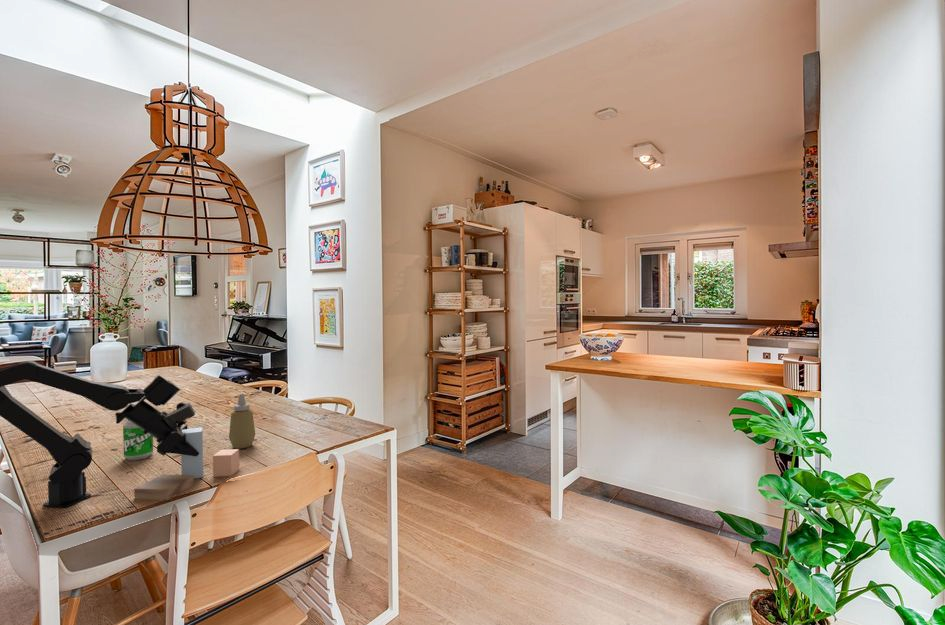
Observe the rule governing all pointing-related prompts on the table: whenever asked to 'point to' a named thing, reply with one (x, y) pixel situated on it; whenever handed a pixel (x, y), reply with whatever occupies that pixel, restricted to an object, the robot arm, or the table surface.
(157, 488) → the walnut slab
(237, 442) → the squeeze bottle
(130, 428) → the soda can
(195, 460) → the blue pillar
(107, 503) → the table surface
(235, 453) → the terracotta block
